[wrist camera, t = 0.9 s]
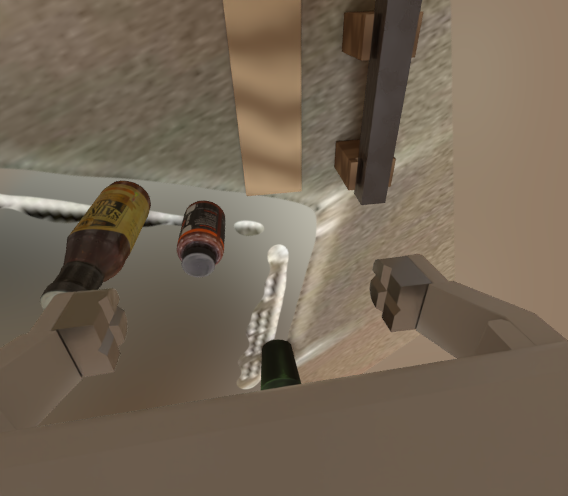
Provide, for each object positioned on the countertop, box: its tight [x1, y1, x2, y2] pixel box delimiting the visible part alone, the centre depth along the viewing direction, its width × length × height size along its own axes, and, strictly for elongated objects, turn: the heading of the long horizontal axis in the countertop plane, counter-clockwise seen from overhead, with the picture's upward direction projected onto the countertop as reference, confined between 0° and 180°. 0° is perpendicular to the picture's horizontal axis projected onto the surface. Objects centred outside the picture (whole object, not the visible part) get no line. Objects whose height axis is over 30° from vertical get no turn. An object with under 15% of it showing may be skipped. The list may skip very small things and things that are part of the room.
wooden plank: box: [223, 0, 301, 196], centre depth 39 cm, size 24×8×1 cm, turn 2°
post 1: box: [342, 11, 423, 61], centre depth 33 cm, size 4×5×7 cm, turn 92°
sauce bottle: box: [40, 181, 151, 310], centre depth 37 cm, size 7×6×20 cm
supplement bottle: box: [177, 201, 225, 277], centre depth 43 cm, size 6×6×11 cm
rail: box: [354, 0, 422, 205], centre depth 34 cm, size 20×3×3 cm, turn 2°
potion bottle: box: [261, 340, 301, 390], centre depth 63 cm, size 8×8×18 cm
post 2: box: [334, 140, 396, 190], centre depth 41 cm, size 4×5×7 cm, turn 92°
